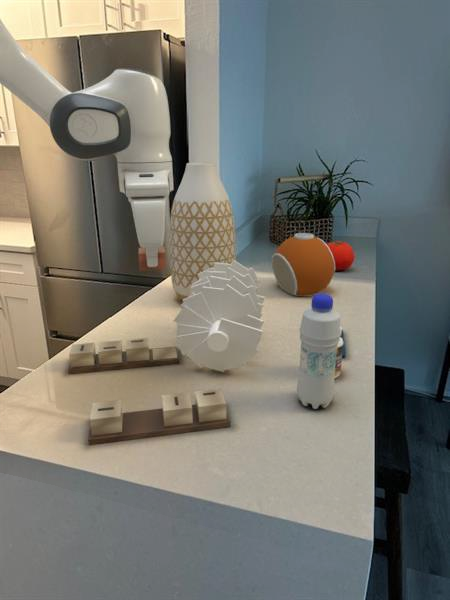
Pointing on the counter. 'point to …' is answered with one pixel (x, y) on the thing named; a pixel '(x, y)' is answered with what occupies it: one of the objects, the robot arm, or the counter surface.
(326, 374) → the bottle
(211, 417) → the front rack
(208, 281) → the spiral staircase
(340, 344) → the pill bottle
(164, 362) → the back rack
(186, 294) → the vase
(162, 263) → the s tile
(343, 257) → the tomato
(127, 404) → the counter surface
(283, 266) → the alarm clock
